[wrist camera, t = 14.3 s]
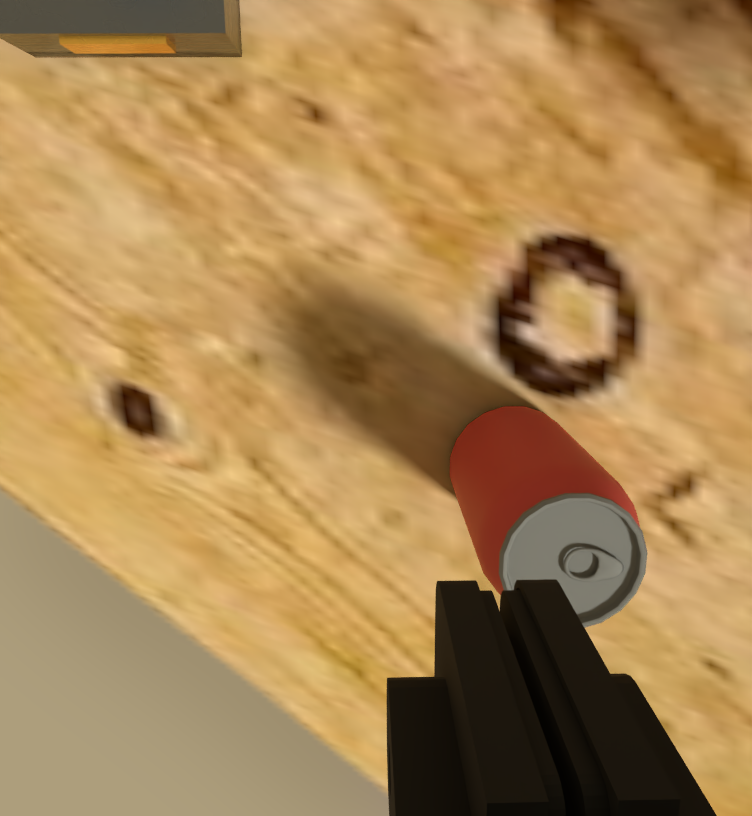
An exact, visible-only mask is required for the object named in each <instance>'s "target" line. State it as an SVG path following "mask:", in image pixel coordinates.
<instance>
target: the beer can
mask: <svg viewBox="0 0 752 816" xmlns="http://www.w3.org/2000/svg"><path fill="white" fill-rule="evenodd" d="M450 478H451V482H452V485H453V488H454V491H455V494H456V497H457V500H458V503H459V505H460V508H461V511H462V514H463V517H464V519H465V522H466V525H467V528H468V531H469V534H470V536H471V539H472V542H473V545H474V548H475V550H476V553H477V556H478V559H479V562H480V565H481V567H482V570H483V573H484V574H485V576H486V577H487V578H488V580H489V581H490V582H491V584H492V585H493V586H494V588H495V589H496V590H497V592H498V593H499V594H500V595H501V593H502V591H503V590H514V585H515V582H516V580H544V579H556V580H557V581H558V582H559V584H560V585H561V587H562V589H563V591H564V592H565V594H566V596H567V598H568V600H569V601H570V603H571V605H572V607H573V608H574V610H575V612H576V614H577V616H578V617H579V619H580V621H581V623H582V625H583V626H584V628H585V627H588V626H592V625H595V624H598V623H602V622H603V621H605V620H606V619H608V618H610V617H611V616H613V615H614V614H616V613H618V612H619V611H621V610H622V609H623V608H624V606H625V605H626V604H627V603H628V602H629V601H630V600H631V599H632V597H633V596H634V595H635V594H636V592H637V590H638V588H639V586H640V584H641V581H642V579H643V577H644V575H645V570H646V560H647V549H646V545H645V541H644V537H643V533H642V530H641V529H640V525H639V521H638V517H637V513H636V510H635V508H634V505H633V503H632V501H631V500H630V498H629V497H628V495H627V494H626V493H625V491H624V490H623V488H622V487H621V485H620V484H619V483H618V482H617V481H616V480H615V479H614V478H613V477H612V476H611V475H610V474H609V473H608V472H607V471H606V470H605V469H604V468H603V467H602V466H601V465H600V464H599V463H598V462H597V461H596V460H595V459H594V458H593V457H592V456H591V455H590V454H589V453H588V452H587V451H586V450H585V449H584V448H582V447H581V446H580V445H579V444H578V443H577V442H576V441H575V440H574V439H573V438H572V437H571V436H570V435H569V434H568V433H567V432H566V431H565V430H564V429H563V428H562V427H561V426H560V425H559V424H558V423H557V422H555V421H554V420H553V419H551V418H550V417H548V416H547V415H546V414H544V413H543V412H540V411H537V410H534V409H531V408H528V407H525V406H504V407H501V408H498V409H494V410H491V411H488V412H485V413H484V414H482V415H481V416H479V417H478V418H476V419H475V420H474V421H472V422H471V423H469V424H468V425H467V427H466V428H465V429H464V430H463V432H462V433H461V434H460V436H459V437H458V438H457V440H456V442H455V445H454V448H453V451H452V453H451V456H450Z"/></svg>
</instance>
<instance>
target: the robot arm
mask: <svg viewBox="0 0 752 816" xmlns="http://www.w3.org/2000/svg"><path fill="white" fill-rule="evenodd" d="M387 764H388V796H389V816H717V815H716V814H715V812H714V810H713V809H712V807H711V806H710V804H709V802H708V801H707V799H706V797H705V796H704V794H703V792H702V791H701V789H700V787H699V786H698V784H697V782H696V781H695V779H694V778H693V776H692V774H691V773H690V771H689V769H688V768H687V766H686V764H685V763H684V761H683V759H682V758H681V756H680V754H679V753H678V751H677V750H676V748H675V746H674V745H673V743H672V741H671V740H670V738H669V736H668V735H667V733H666V731H665V730H664V728H663V726H662V725H661V723H660V721H659V720H658V718H657V717H656V715H655V713H654V712H653V710H652V708H651V707H650V705H649V703H648V702H647V700H646V698H645V697H644V695H643V693H642V692H641V690H640V689H639V687H638V685H637V684H636V682H635V681H634V680H633V679H632V677H631V676H629V675H627V674H610V673H609V671H608V669H607V667H606V666H605V664H604V662H603V660H602V658H601V657H600V655H599V653H598V651H597V650H596V648H595V646H594V644H593V642H592V641H591V639H590V637H589V635H588V633H587V632H586V630H585V628H584V626H583V625H582V623H581V621H580V619H579V617H578V616H577V614H576V612H575V610H574V608H573V607H572V605H571V603H570V601H569V600H568V598H567V596H566V594H565V592H564V591H563V589H562V587H561V585H560V584H559V582H558V581H557V580H556V579H544V580H516V582H515V585H514V590H503V591H502V593H501V600H500V611H499V609H498V606H497V603H496V600H495V598H494V595H493V592H492V591H480V590H479V587H478V584H477V582H476V581H437V584H436V612H435V676H434V677H401V678H387Z"/></svg>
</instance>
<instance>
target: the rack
mask: <svg viewBox="0 0 752 816" xmlns="http://www.w3.org/2000/svg"><path fill="white" fill-rule="evenodd" d="M0 38H1V39H3V40H5V41H6V42H8V43H10V44H12V45H14V46H16V47H18V48H19V49H21V50H23V51H25V52H27V53H29V54H31V55H33V56H34V57H242V49H241V28H240V8H239V0H0Z"/></svg>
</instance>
